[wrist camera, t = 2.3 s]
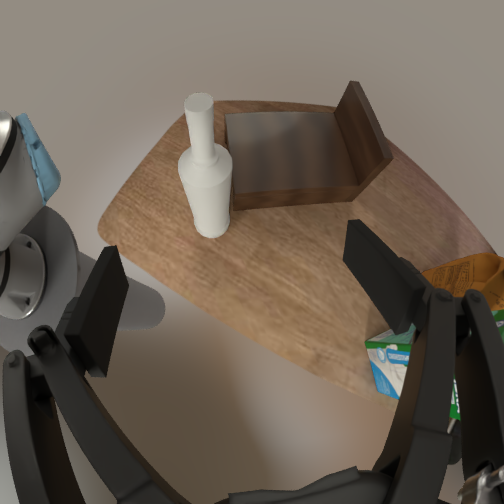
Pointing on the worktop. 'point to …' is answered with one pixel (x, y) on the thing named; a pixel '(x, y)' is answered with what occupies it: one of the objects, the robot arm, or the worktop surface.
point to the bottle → (205, 169)
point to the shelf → (305, 154)
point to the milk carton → (404, 361)
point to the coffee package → (472, 277)
